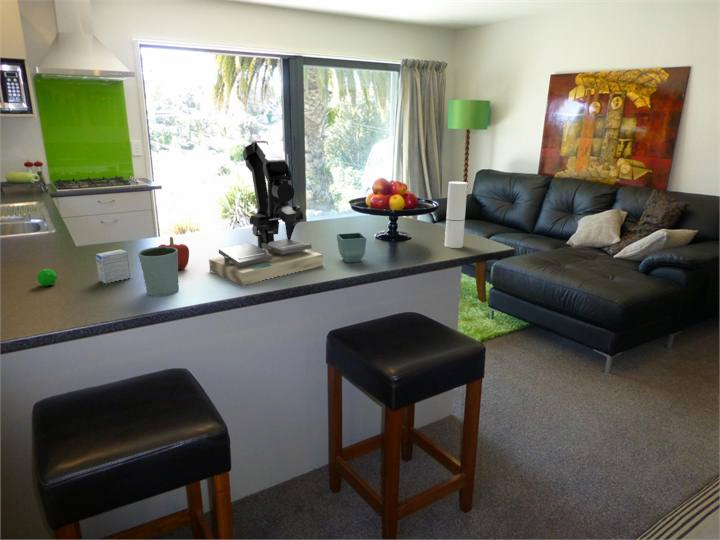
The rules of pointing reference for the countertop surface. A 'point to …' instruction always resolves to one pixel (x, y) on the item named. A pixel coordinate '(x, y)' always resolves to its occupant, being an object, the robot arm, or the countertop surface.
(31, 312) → the countertop surface
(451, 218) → the white tall block
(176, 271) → the grey-green cup
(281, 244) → the rocker right
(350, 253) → the flower pot
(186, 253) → the vegetable
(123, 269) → the medicine box
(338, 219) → the countertop surface
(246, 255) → the rocker left
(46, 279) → the polyhedron
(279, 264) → the switch unit
